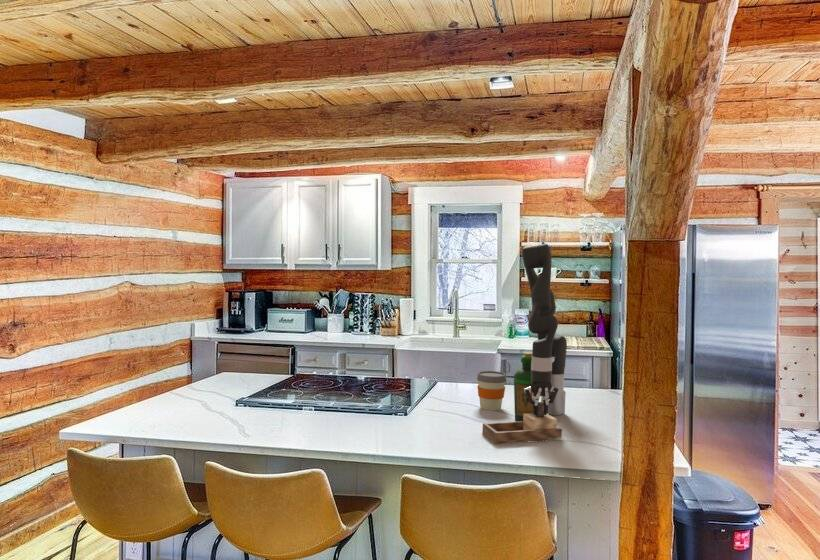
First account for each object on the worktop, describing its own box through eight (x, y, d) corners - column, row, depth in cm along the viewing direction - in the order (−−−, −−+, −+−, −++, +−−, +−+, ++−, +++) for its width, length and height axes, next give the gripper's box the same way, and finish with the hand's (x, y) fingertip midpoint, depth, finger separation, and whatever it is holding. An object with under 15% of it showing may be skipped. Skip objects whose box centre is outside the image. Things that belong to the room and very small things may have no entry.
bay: (545, 430, 229) (545, 419, 229) (561, 439, 217) (562, 429, 217) (482, 433, 222) (482, 423, 222) (495, 444, 210) (495, 433, 210)
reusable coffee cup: (492, 413, 252) (493, 377, 251) (470, 406, 261) (471, 373, 260) (511, 408, 260) (512, 374, 259) (489, 402, 269) (490, 369, 269)
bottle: (523, 427, 232) (525, 356, 230) (506, 420, 241) (508, 351, 240) (544, 424, 236) (547, 354, 235) (527, 417, 246) (530, 350, 245)
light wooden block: (544, 428, 227) (545, 399, 227) (556, 435, 218) (557, 405, 218) (522, 429, 225) (523, 400, 224) (533, 436, 216) (534, 406, 216)
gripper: (553, 366, 226) (552, 411, 227) (519, 367, 222) (518, 413, 223) (563, 370, 219) (562, 416, 219) (528, 371, 215) (527, 418, 216)
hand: (539, 414), depth 221 cm, fingers closed on light wooden block, 3 cm apart
